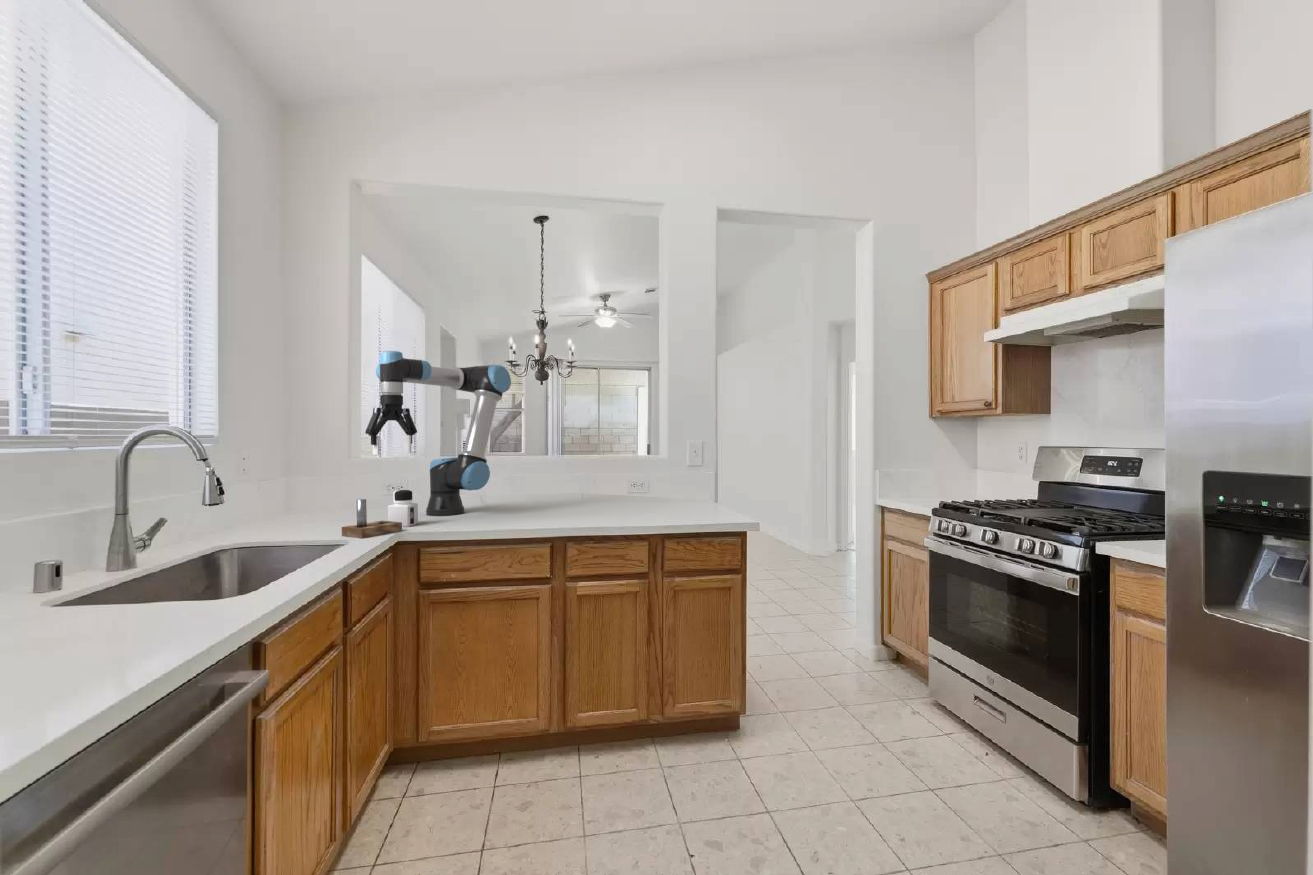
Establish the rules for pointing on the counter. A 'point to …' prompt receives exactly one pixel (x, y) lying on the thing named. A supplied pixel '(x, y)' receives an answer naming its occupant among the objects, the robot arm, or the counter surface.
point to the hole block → (372, 529)
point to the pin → (361, 513)
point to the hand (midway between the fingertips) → (392, 453)
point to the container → (403, 509)
